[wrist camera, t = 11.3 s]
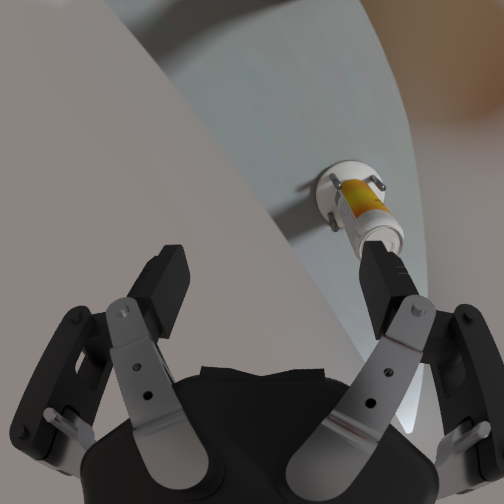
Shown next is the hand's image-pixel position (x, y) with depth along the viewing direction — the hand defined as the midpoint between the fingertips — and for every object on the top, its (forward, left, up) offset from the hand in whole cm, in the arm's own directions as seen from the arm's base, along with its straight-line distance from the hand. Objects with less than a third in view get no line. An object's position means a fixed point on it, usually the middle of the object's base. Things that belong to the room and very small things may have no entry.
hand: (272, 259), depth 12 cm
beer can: (+8, +11, -29) cm, 33 cm away
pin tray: (+9, +11, -31) cm, 34 cm away
